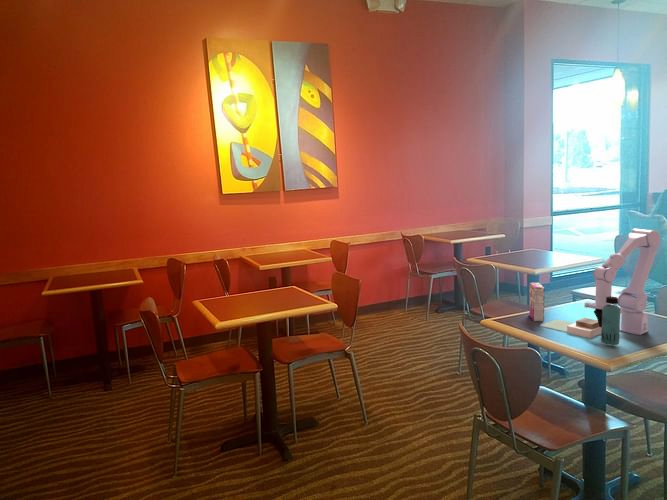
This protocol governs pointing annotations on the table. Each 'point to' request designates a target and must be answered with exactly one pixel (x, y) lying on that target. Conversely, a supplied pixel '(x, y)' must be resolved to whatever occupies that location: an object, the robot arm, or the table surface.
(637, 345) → the table surface
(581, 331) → the pale pink flat block
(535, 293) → the candy bar box
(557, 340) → the table surface
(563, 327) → the mat
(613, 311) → the beverage bottle
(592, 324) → the walnut tile
